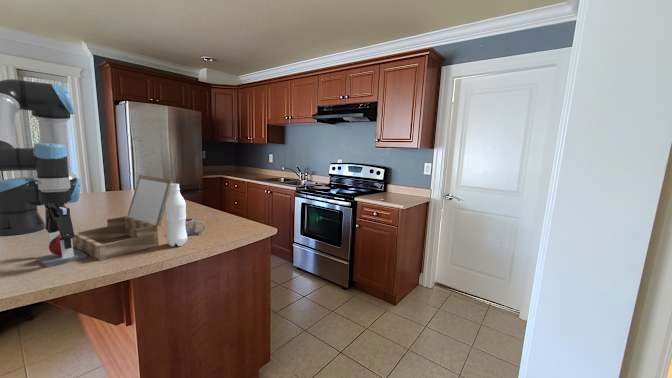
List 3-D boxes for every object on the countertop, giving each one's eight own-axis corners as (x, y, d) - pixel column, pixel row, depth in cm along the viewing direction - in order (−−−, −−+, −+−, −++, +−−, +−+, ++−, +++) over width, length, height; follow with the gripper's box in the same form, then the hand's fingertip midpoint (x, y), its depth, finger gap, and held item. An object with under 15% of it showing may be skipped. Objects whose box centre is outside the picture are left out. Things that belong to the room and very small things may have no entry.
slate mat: (37, 260, 93) (36, 257, 93) (75, 251, 102) (75, 248, 102) (47, 267, 88) (47, 264, 88) (87, 257, 97) (86, 254, 97)
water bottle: (191, 243, 115) (189, 183, 111) (176, 248, 108) (173, 185, 104) (178, 240, 117) (175, 182, 113) (163, 246, 110) (159, 184, 107)
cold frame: (72, 245, 107) (70, 225, 106) (128, 233, 124) (126, 216, 123) (100, 260, 95) (98, 238, 94) (158, 244, 111) (157, 225, 110)
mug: (174, 235, 124) (173, 221, 122) (183, 231, 130) (183, 217, 129) (200, 237, 123) (199, 222, 122) (208, 232, 130) (208, 218, 129)
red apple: (58, 260, 92) (56, 237, 90) (45, 258, 93) (42, 235, 92) (78, 253, 97) (76, 232, 96) (65, 252, 98) (63, 230, 97)
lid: (139, 175, 125) (142, 175, 126) (127, 216, 123) (130, 216, 124) (170, 179, 113) (173, 180, 114) (158, 225, 110) (161, 226, 111)
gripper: (27, 187, 94) (35, 249, 97) (51, 195, 83) (59, 265, 86) (57, 185, 100) (64, 244, 104) (83, 192, 89) (89, 257, 93)
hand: (62, 253), depth 95 cm, fingers open, 10 cm apart
